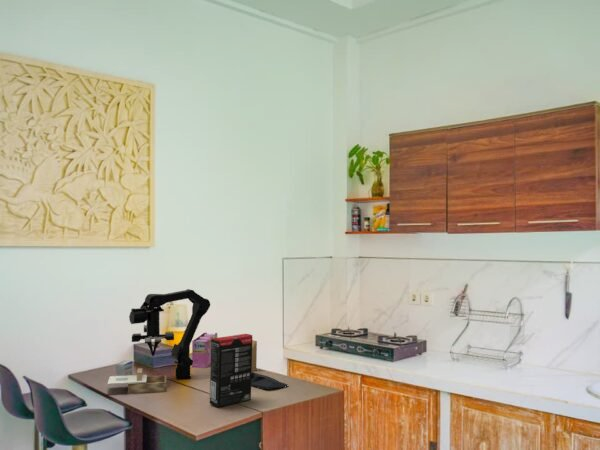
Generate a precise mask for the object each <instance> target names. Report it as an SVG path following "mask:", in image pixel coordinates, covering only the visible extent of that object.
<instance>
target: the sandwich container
mask: <svg viewBox="0 0 600 450" xmlns="http://www.w3.org/2000/svg"><path fill="white" fill-rule="evenodd" d="M257 344H258V342H257V340H254V339H252V372H256V371H257V357H258V356H257V349H258V348H257V347H258V345H257ZM255 370H256V371H255Z"/></svg>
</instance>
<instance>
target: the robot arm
mask: <svg viewBox="0 0 600 450" xmlns="http://www.w3.org/2000/svg"><path fill="white" fill-rule="evenodd" d="M187 299H188V300H189V302H191V303H192V307H191V310H192V311H191V313H192V314H191V316H190V318H189V320H188V323H187V325H186V327H185V330H184V332H183V334H182V337H181V339H180V342H178V343H177V344H176V343H174V344H173V348H172V350H171V351H170V352H171V356H170V357H171V359H172V361H174V364H176V367H175V368H174V369H175V372H174V373H175V378H176V380H187V379H189V380H190V379H192V378H191V367H192V363H193V360H192V358H191V357H189V356H190V345H191V343H192V341H193V340H194V339H193V338H194V336H195V334H196V331H197V329H198V327H199V324H200V322H201V319H203V318H202V317H203V316H205V314H206V313H207V312H208V311H209V309H210V307H211V302H210V300H209V299H208V298H204V297H203V296H202V295H200V294H198V293H197V292H196V291H195V290H193V289H189V288H187V289H185V290H180V291H174V292H169V293H149V294H147V295H146V297H145V298H144V301H143V303H142V304H141V306H140V307H139V308H135V307H134V308H131V311H130V313H129V316H128V317H129V322H130V324H131V325H135V324H137V325H138V324H144V325H143V333H146V334H143V335H142V333H140V332H139V333H133V334H132V335H131V342H132V343H138V342H139V343H140V341H141V340H144V344H147V346H148V349H149V351H150V353H151V356H152V357H154V356H155V354H156V351H157V348H158V346H159V344H160V343H162V339H165V340H166V341H174V340H175V334H174V332H173V331H168V332H166V331H165V333H163V334H160V331H161V330H160V328H161V327H160V312H165V310H164V308H163V307H162V306H164V305H166V304H168V303H170V302H171V303H172V302H177V301H181V300H183V301H184V300H187ZM145 322H146V324H145ZM152 340H154V342H153V341H152Z"/></svg>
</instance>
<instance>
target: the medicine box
mask: <svg viewBox="0 0 600 450" xmlns="http://www.w3.org/2000/svg"><path fill="white" fill-rule="evenodd" d="M133 368H134V367H133V360H128V359H127V360H123V361H120V362H117V363H116V364H115V376H127V375H134V374H133V372H134V371H133Z"/></svg>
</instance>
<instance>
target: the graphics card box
mask: <svg viewBox="0 0 600 450" xmlns="http://www.w3.org/2000/svg"><path fill="white" fill-rule="evenodd" d="M252 340H253V334H250V333H241V334H234V335H227V336H221V337H217V338H212V339H211V364H210V379H209V404H210V405H212V406H215V407H217V408H220V407H224V406H229V405H234V404H238V403H242V402H241V401H243V402H247V401H250V400H252V399H251V397H252V386H251V372H252ZM249 399H250V400H249ZM246 400H247V401H246ZM237 402H238V403H237ZM233 403H234V404H233Z"/></svg>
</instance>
